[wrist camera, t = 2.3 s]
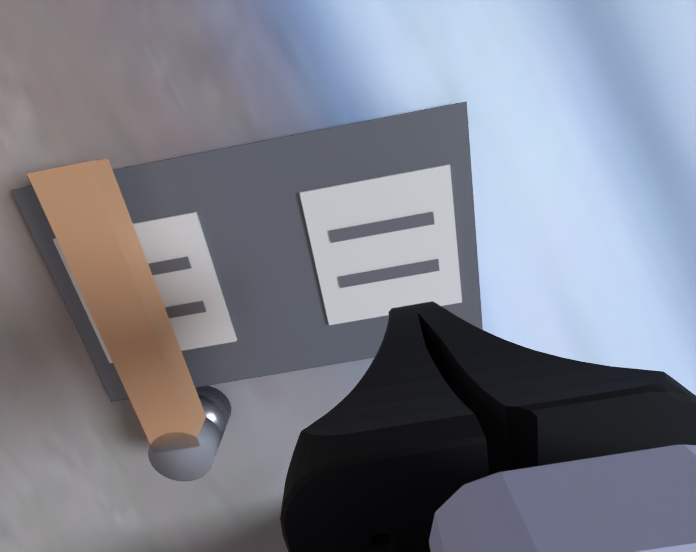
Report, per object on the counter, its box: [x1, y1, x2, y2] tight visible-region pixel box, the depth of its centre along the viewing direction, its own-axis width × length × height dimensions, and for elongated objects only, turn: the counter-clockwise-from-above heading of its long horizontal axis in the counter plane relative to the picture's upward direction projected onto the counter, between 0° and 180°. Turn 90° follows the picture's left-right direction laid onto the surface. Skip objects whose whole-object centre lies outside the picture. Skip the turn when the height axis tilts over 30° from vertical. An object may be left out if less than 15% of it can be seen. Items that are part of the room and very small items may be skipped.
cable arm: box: [27, 159, 221, 481], centre depth 19 cm, size 16×3×2 cm, turn 10°
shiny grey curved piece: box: [195, 386, 231, 441], centre depth 23 cm, size 3×3×2 cm
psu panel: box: [11, 102, 483, 402], centre depth 20 cm, size 12×21×1 cm, turn 100°
